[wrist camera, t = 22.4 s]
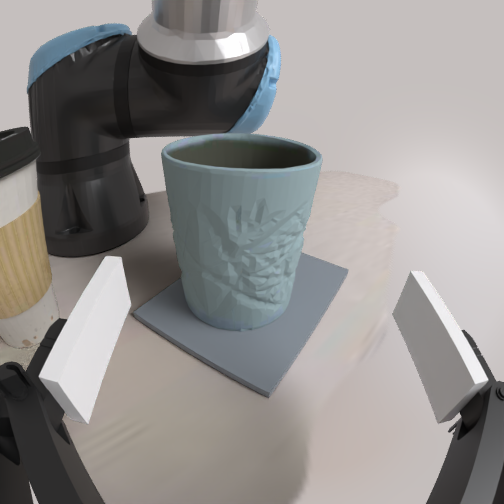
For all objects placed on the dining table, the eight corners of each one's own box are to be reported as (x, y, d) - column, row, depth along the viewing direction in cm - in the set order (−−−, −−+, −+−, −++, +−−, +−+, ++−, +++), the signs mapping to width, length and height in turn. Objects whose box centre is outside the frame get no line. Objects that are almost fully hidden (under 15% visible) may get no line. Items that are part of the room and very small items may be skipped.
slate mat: (134, 317, 23) (133, 312, 22) (244, 236, 34) (244, 232, 34) (268, 397, 18) (269, 392, 17) (347, 274, 30) (348, 269, 29)
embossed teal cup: (317, 323, 23) (354, 169, 16) (183, 352, 20) (168, 174, 13) (268, 253, 31) (281, 132, 24) (165, 267, 28) (157, 135, 21)
